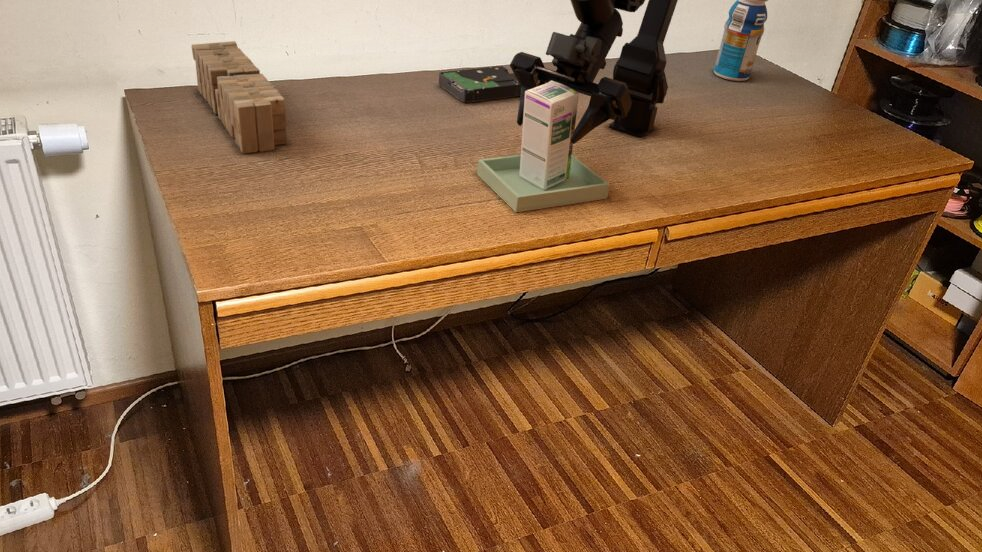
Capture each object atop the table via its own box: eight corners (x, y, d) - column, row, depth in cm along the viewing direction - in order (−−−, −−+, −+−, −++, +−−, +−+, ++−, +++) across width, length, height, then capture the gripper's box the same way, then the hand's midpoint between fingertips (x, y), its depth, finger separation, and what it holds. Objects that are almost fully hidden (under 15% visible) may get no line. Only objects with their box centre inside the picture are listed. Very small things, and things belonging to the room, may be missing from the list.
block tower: (290, 153, 128) (240, 84, 147) (288, 102, 123) (236, 37, 142) (240, 159, 124) (195, 87, 143) (236, 107, 119) (190, 40, 138)
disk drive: (499, 79, 164) (437, 85, 157) (501, 65, 162) (438, 71, 155) (528, 96, 157) (464, 104, 150) (530, 82, 156) (465, 89, 148)
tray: (515, 212, 117) (517, 197, 116) (476, 174, 126) (478, 159, 125) (607, 198, 124) (610, 184, 122) (563, 163, 133) (566, 149, 132)
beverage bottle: (707, 68, 183) (731, -25, 171) (742, 70, 184) (769, -22, 172) (718, 80, 177) (744, -16, 165) (754, 83, 177) (783, -12, 166)
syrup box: (544, 191, 123) (554, 103, 113) (517, 175, 126) (524, 88, 116) (569, 179, 126) (581, 92, 116) (542, 164, 129) (551, 78, 119)
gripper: (524, -5, 116) (475, 87, 115) (640, 25, 109) (589, 125, 108) (543, 39, 126) (498, 125, 125) (651, 70, 119) (604, 161, 118)
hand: (544, 133), depth 119 cm, fingers open, 9 cm apart
